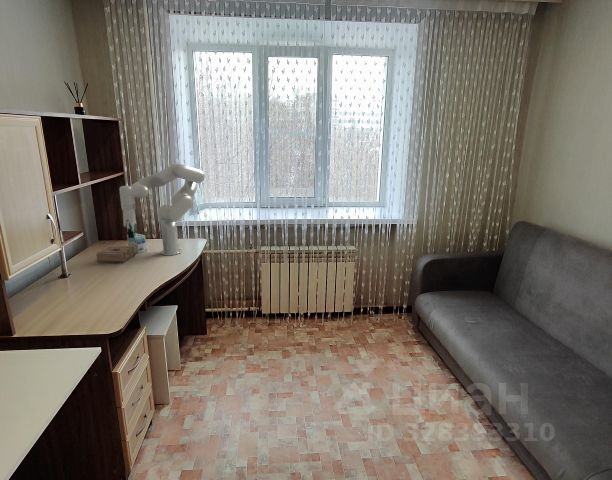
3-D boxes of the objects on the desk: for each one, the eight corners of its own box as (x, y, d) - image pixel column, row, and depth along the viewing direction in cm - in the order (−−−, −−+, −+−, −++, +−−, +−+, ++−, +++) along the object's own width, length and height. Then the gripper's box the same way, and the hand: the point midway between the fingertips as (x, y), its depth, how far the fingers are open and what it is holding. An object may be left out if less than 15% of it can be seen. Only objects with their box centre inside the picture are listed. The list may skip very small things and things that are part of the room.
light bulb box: (147, 250, 264) (145, 235, 261) (138, 253, 259) (136, 237, 256) (137, 248, 270) (135, 232, 266) (128, 250, 264) (126, 235, 261)
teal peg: (130, 240, 242) (128, 224, 239) (135, 240, 243) (134, 224, 240) (129, 241, 239) (127, 225, 236) (134, 241, 240) (132, 225, 237)
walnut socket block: (111, 254, 256) (110, 245, 255) (135, 255, 255) (134, 246, 254) (97, 262, 241) (96, 253, 239) (123, 263, 240) (121, 254, 238)
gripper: (125, 204, 242) (128, 233, 247) (117, 209, 227) (121, 240, 232) (138, 204, 244) (141, 233, 249) (131, 209, 228) (135, 240, 233)
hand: (131, 236), depth 240 cm, fingers closed on teal peg, 3 cm apart
